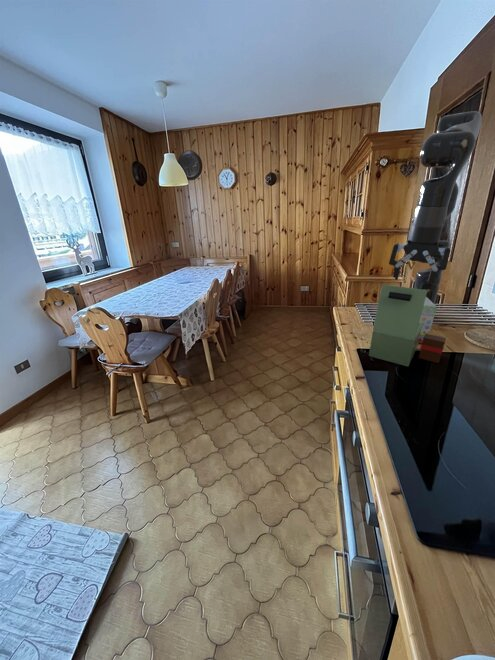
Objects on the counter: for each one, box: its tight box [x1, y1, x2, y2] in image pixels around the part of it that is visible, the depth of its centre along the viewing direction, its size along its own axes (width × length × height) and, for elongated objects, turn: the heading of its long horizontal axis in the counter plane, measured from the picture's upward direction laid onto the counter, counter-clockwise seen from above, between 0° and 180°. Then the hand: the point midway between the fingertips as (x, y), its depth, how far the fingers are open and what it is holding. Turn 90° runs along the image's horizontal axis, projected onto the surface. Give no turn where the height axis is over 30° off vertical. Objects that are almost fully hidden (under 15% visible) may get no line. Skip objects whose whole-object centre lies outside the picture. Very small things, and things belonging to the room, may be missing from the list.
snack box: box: [418, 297, 438, 344], centre depth 112 cm, size 21×6×15 cm, turn 168°
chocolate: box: [418, 333, 447, 364], centre depth 95 cm, size 4×6×8 cm, turn 52°
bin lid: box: [372, 284, 427, 340], centre depth 88 cm, size 16×13×5 cm
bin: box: [368, 323, 423, 368], centre depth 99 cm, size 15×13×10 cm
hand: (412, 280), depth 83 cm, fingers open, 8 cm apart
